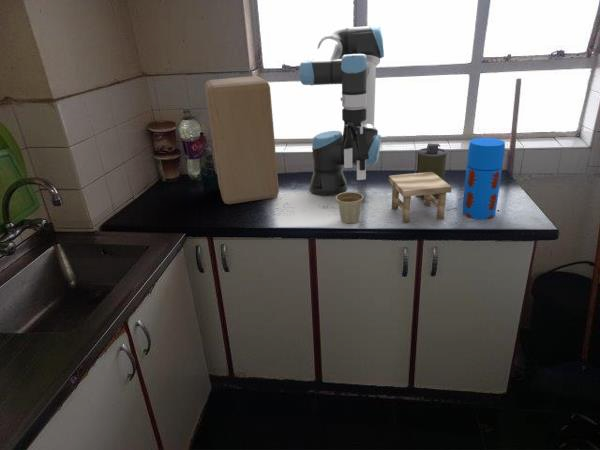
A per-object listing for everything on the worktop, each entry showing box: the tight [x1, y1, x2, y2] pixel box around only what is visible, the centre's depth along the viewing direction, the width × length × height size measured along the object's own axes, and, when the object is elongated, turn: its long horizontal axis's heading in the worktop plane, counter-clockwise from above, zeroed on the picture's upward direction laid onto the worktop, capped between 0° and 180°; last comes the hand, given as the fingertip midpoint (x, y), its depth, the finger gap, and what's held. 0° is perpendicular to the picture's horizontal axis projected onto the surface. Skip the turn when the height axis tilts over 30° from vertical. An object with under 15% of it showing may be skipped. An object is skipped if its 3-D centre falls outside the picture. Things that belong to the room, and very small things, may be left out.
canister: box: [414, 142, 448, 201], centre depth 164 cm, size 11×10×20 cm
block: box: [204, 75, 280, 205], centre depth 173 cm, size 22×22×45 cm
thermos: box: [461, 137, 506, 221], centre depth 146 cm, size 11×11×25 cm
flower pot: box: [335, 191, 364, 224], centre depth 150 cm, size 9×9×9 cm
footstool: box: [388, 172, 452, 224], centre depth 151 cm, size 16×16×12 cm
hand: (354, 173), depth 145 cm, fingers open, 13 cm apart
